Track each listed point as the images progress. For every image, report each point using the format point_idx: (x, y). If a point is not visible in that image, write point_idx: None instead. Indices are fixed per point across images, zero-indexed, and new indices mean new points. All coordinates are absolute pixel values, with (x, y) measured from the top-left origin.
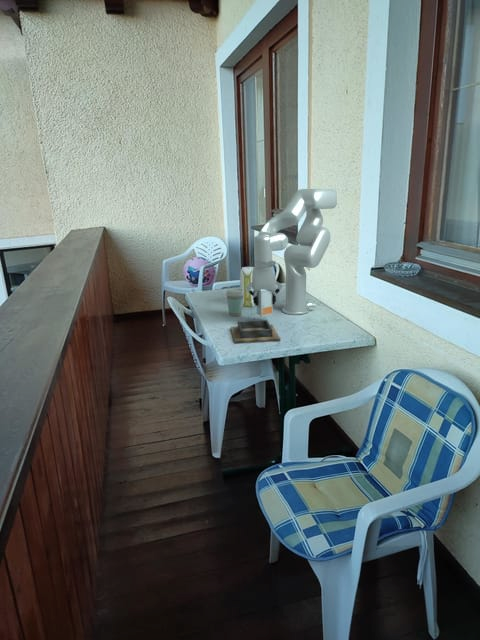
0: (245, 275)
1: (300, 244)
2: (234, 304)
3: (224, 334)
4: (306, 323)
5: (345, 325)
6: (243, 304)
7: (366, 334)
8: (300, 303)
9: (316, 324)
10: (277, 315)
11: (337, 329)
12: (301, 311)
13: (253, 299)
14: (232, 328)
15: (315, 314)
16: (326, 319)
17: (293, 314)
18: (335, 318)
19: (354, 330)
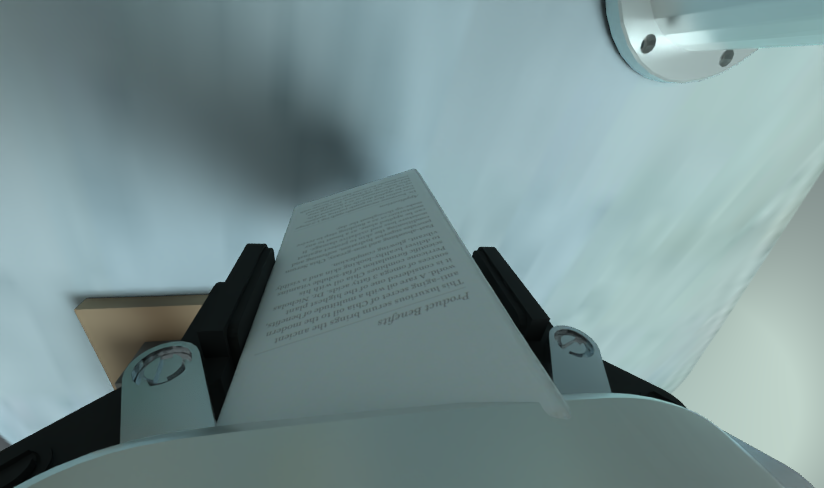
0: None
1: None
2: None
3: (65, 379)
4: (586, 262)
5: (701, 307)
6: None
7: (674, 386)
8: (796, 45)
9: (616, 282)
10: (515, 35)
11: (639, 344)
12: (712, 56)
13: (200, 314)
14: (100, 342)
15: (749, 102)
16: (712, 217)
17: (632, 67)
18: (757, 210)
19: (677, 356)
